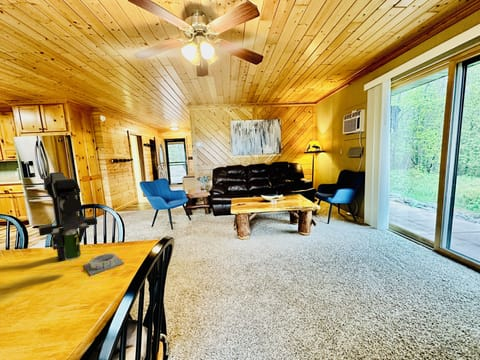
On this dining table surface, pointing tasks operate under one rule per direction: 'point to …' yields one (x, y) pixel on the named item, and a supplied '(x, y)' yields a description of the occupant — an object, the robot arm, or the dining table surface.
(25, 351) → the dining table surface
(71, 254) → the beer can
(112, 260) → the metal collar
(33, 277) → the dining table surface
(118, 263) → the socket plate
